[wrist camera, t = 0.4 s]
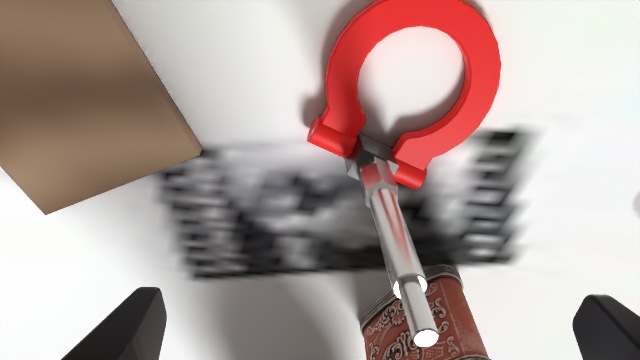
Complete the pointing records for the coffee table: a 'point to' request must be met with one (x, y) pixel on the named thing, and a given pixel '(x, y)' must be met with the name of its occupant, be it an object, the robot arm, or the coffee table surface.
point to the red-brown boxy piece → (449, 316)
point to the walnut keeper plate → (81, 103)
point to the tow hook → (412, 147)
